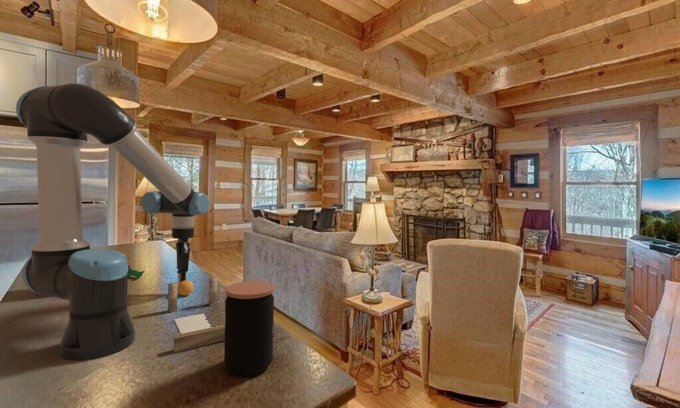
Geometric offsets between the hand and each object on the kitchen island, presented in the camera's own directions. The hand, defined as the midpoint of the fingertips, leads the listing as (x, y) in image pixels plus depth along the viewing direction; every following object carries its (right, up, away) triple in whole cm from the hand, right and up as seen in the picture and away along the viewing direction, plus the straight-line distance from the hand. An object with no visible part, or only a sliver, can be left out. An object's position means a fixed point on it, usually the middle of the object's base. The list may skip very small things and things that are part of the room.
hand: (182, 288), depth 123 cm
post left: (+6, -2, -18) cm, 19 cm away
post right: (+16, -2, -11) cm, 19 cm away
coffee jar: (+39, -5, -49) cm, 63 cm away
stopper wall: (+28, -4, -38) cm, 47 cm away
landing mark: (+20, -3, -27) cm, 33 cm away
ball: (+3, +1, -2) cm, 4 cm away
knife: (-33, 0, +21) cm, 39 cm away
